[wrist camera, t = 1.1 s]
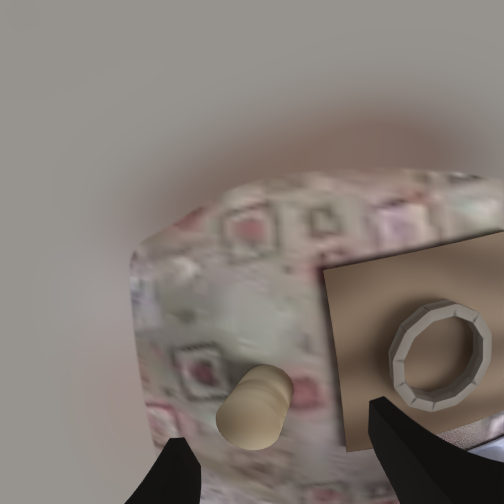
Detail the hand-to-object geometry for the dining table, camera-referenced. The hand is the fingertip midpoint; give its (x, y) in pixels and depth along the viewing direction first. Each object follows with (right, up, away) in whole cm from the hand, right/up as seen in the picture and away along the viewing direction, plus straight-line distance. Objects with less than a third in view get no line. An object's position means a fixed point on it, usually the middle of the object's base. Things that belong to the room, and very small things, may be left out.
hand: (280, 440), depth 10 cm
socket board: (+13, -1, +10) cm, 17 cm away
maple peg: (0, -4, +14) cm, 14 cm away
